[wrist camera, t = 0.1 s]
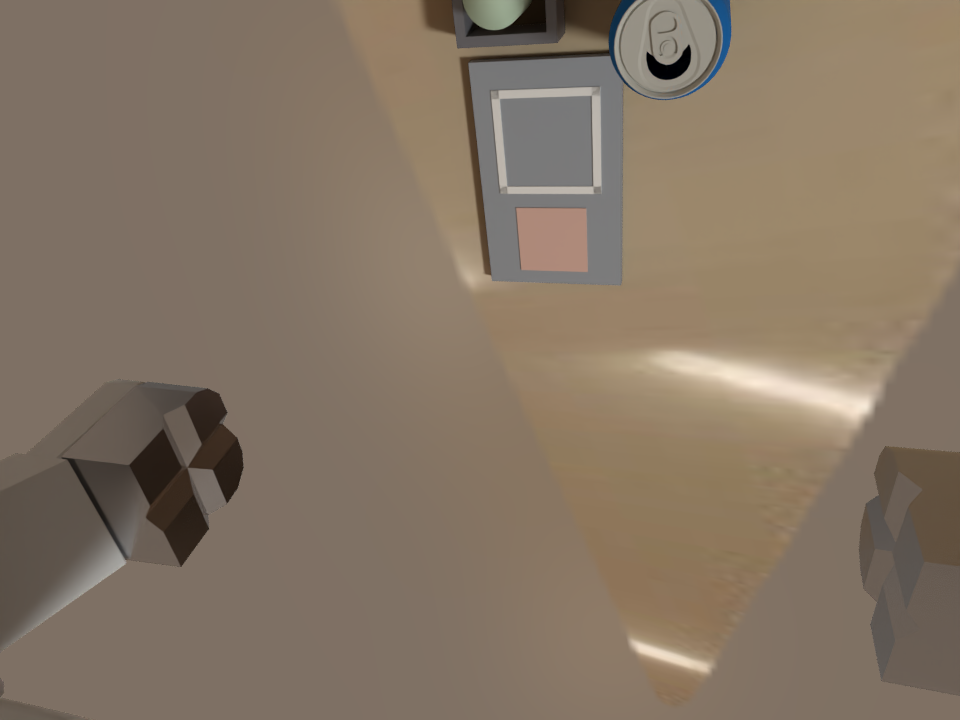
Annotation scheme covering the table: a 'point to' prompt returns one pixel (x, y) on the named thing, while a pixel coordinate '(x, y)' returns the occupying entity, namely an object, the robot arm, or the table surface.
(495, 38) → the button housing
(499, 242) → the picture board
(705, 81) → the beverage can
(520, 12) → the button
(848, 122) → the table surface
